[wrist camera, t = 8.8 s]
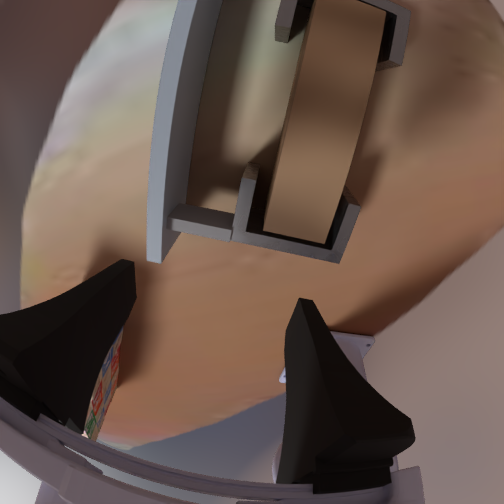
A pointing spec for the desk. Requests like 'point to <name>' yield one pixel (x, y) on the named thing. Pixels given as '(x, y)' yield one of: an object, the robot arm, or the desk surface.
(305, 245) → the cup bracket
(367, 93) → the rail
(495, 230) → the desk surface
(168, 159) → the backboard
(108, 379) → the stack of blocks
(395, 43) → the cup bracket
